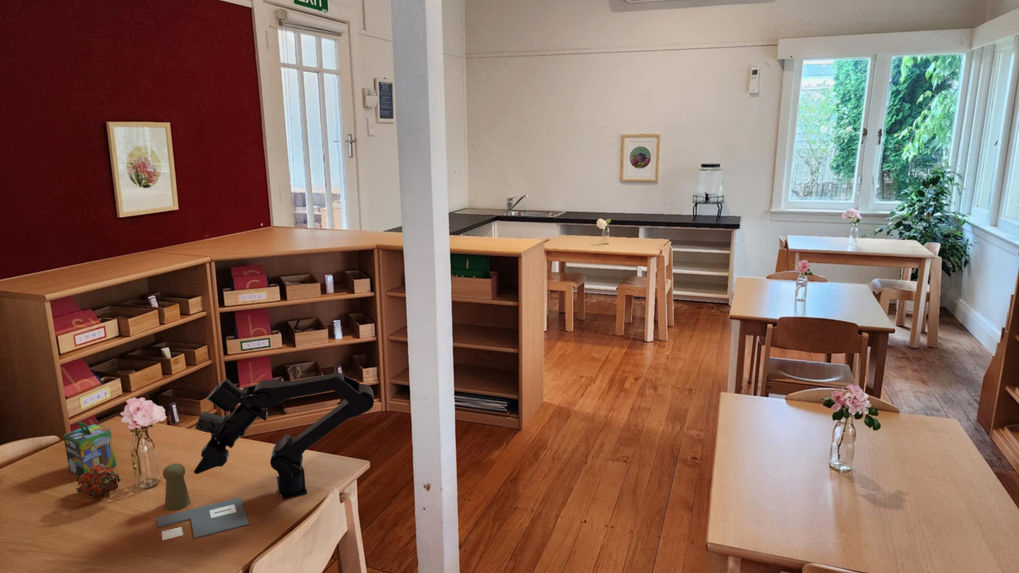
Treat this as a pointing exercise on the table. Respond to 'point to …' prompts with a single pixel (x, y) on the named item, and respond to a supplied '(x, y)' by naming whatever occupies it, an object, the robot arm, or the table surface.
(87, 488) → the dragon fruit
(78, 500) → the table surface
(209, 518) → the label panel
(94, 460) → the chalk box
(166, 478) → the olive green pawn
